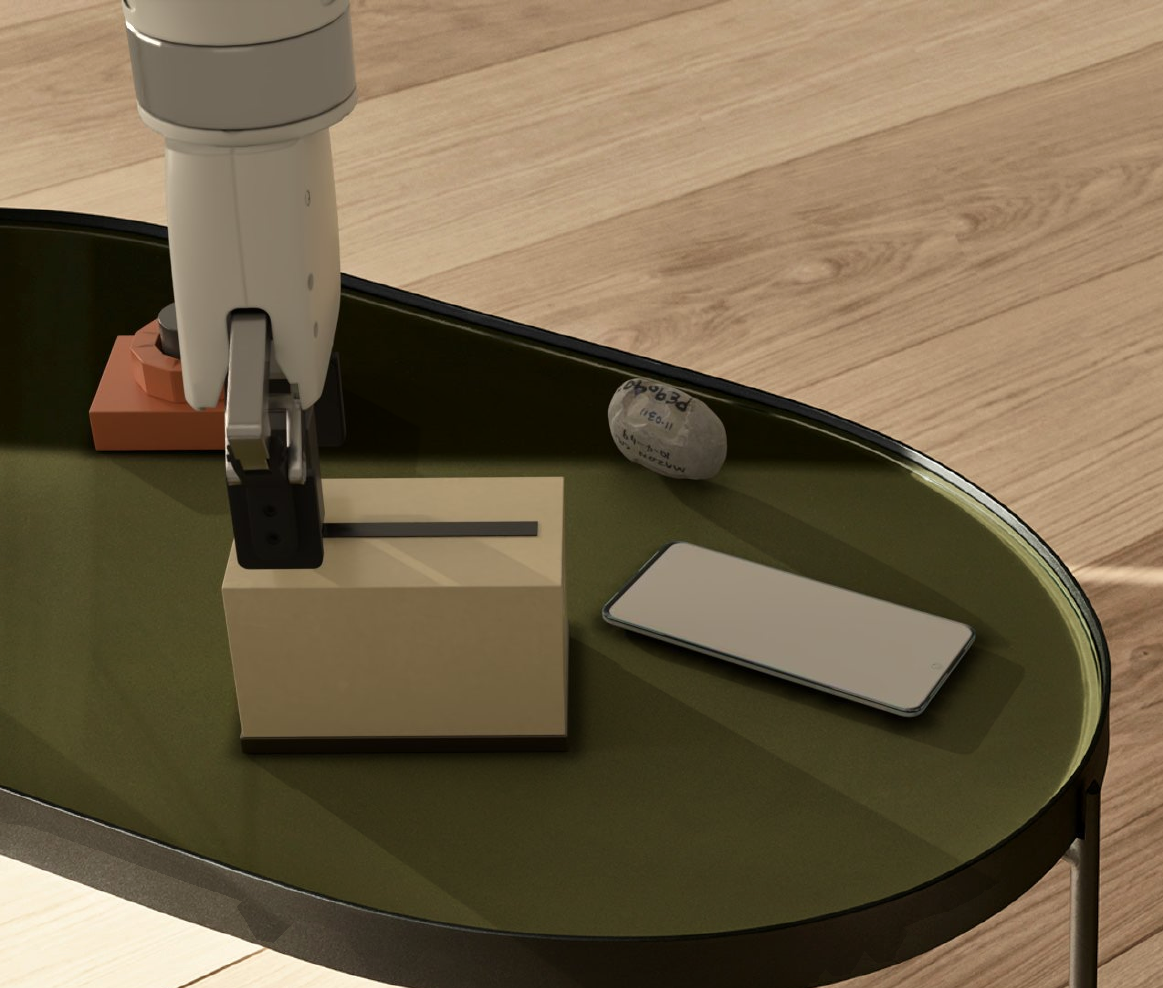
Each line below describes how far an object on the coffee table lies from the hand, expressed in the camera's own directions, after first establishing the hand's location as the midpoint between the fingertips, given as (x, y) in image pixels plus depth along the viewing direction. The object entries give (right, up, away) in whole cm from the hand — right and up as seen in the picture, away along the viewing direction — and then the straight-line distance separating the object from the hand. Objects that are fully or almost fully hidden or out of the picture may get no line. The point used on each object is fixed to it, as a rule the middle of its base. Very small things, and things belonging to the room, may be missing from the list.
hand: (295, 500), depth 83 cm
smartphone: (+20, -5, +9) cm, 22 cm away
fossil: (+15, +3, +19) cm, 25 cm away
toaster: (+4, -7, +6) cm, 10 cm away
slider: (0, -1, +1) cm, 1 cm away
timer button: (-8, +11, +22) cm, 26 cm away
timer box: (-8, +8, +25) cm, 27 cm away
